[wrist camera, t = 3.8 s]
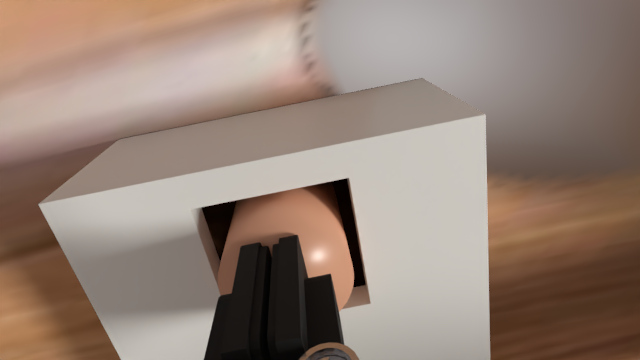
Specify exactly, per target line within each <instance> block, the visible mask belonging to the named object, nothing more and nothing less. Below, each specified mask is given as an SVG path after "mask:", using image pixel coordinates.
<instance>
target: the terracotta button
mask: <svg viewBox="0 0 640 360" xmlns="http://www.w3.org/2000/svg"><path fill="white" fill-rule="evenodd" d="M293 235H298V237H299V241H300V246H301V250H302V254H303V258H304V262H305V266H306V270H307V274H308V278H311V277H316V276H321V275H326V274H331V277H332V281H333V286H334V290H335V295H336V300H337V305H338V310H339V312H340V311H341V309H342V308H343V307H344V306H345V304H346V303H347V301H348V299H349V297H350V295H351V292H352V289H353V284H354V270H353V265H352V261H351V257H350V252H349V248H348V244H347V240H346V236H345V231H344V227H343V223H342V219H341V215H340V211H339V206H338V202H337V198H336V194H335V190H334V188H333V185H332V183H331V182H326V183H321V184H316V185H311V186H306V187H301V188H296V189H291V190H286V191H281V192H276V193H271V194H266V195H261V196H256V197H251V198H246V199H241V200H237V202H236V206H235V209H234V213H233V217H232V221H231V225H230V228H229V232H228V236H227V240H226V243H225V247H224V251H223V255H222V258H221V262H220V266H219V271H218V288H219V292H220V295H226V294H231V293H232V288H233V283H234V278H235V273H236V268H237V262H238V257H239V252H240V247H241V246H243V245H248V244H253V243H258V242H260V243H261V245H262V247H263V246H268V247H269V250H270V253H271V257H272V248H273V244H278V243H279V238H283V237H288V236H293Z"/></svg>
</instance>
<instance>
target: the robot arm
mask: <svg viewBox="0 0 640 360" xmlns="http://www.w3.org/2000/svg"><path fill="white" fill-rule="evenodd" d="M204 360H359V358H358V356H357V355H356V353H355V352H354V351H353V350H352V349H351V348H349V347H348V346H346V345H344V338H343V332H342V326H341V321H340V315H339V310H338V305H337V300H336V295H335V290H334V286H333V281H332V277H331V274H326V275H321V276H316V277H311V278H308V274H307V270H306V266H305V262H304V258H303V254H302V250H301V246H300V241H299V237H298V235H293V236H288V237H283V238H279V243H278V244H273V248H272V257H271V253H270V250H269V247H268V246H263V247H262V245H261V243H260V242H258V243H253V244H248V245H243V246H241V247H240V252H239V257H238V262H237V268H236V273H235V278H234V283H233V288H232V293H231V294H226V295H221V296H220V297H219V298H218V301H217V306H216V310H215V314H214V318H213V323H212V327H211V331H210V335H209V340H208V344H207V348H206V352H205V357H204Z"/></svg>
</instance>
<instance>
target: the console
mask: <svg viewBox="0 0 640 360" xmlns="http://www.w3.org/2000/svg"><path fill="white" fill-rule="evenodd" d="M346 178H347V180H348V186H349V192H350V198H351V203H352V209H353V215H354V220H355V226H356V232H357V238H358V243H359V249H360V255H361V260H362V266H363V272H364V278H365V283H366V285H364V286H358V287H353V289H352V292H351V295H350V297H349V299H348V301H347V303H346V304H345V306H344V307H343V308H342V309H341V311H340V312H339V315H340V321H341V326H342V332H343V338H344V345H346V346H348V347H349V348H351V349H352V350H353V351H354V352H355V353H356V355H357V356H358V358H359V360H490V316H489V265H488V214H487V164H486V115H485V114H484V113H482V112H480V111H479V110H477V109H475V108H473V107H472V106H470V105H468V104H467V103H465V102H463V101H461V100H460V99H458V98H456V97H454V96H453V95H451V94H449V93H447V92H446V91H444V90H442V89H440V88H438V87H437V86H435V85H433V84H432V83H430V82H428V81H426V80H425V79H423V78H421V79H415V80H411V81H405V82H400V83H396V84H391V85H386V86H381V87H376V88H371V89H366V90H361V91H356V92H351V93H346V94H341V95H336V96H331V97H326V98H321V99H316V100H311V101H307V102H302V103H297V104H292V105H287V106H282V107H277V108H272V109H267V110H262V111H257V112H252V113H247V114H242V115H237V116H232V117H227V118H222V119H218V120H213V121H208V122H203V123H198V124H193V125H188V126H183V127H178V128H173V129H168V130H163V131H158V132H153V133H148V134H143V135H138V136H134V137H129V138H124V139H119V140H117V141H116V142H115V143H114V144H112V145H111V146H110V147H109V148H107V149H106V150H105V151H104V152H102V153H101V154H100V155H99V156H97V157H96V158H95V159H94V160H92V161H91V162H90V163H89V164H88V165H86V166H85V167H84V168H83V169H81V170H80V171H79V172H78V173H76V174H75V175H74V176H73V177H71V178H70V179H69V180H68V181H66V182H65V183H64V184H63V185H61V186H60V187H59V188H58V189H56V190H55V191H54V192H53V193H51V194H50V195H49V196H48V197H46V198H45V199H44V200H43V201H42V202H40V203H39V204H38V205H39V207H40V209H41V211H42V213H43V214H44V216H45V218H46V220H47V222H48V224H49V226H50V228H51V229H52V231H53V233H54V235H55V237H56V239H57V241H58V243H59V244H60V246H61V248H62V250H63V252H64V254H65V256H66V258H67V259H68V261H69V263H70V265H71V267H72V269H73V271H74V273H75V274H76V276H77V278H78V280H79V282H80V284H81V286H82V287H83V289H84V291H85V293H86V295H87V297H88V299H89V301H90V302H91V304H92V306H93V308H94V310H95V312H96V314H97V316H98V317H99V319H100V321H101V323H102V325H103V327H104V329H105V331H106V332H107V334H108V336H109V338H110V340H111V342H112V344H113V346H114V347H115V349H116V351H117V353H118V355H119V357H120V359H121V360H204V357H205V352H206V348H207V344H208V340H209V335H210V331H211V327H212V323H213V318H214V314H215V310H216V306H217V301H218V298H219V297H220V296H221V295H220V292H219V288H218V271H219V266H220V260H219V257H218V254H217V251H216V248H215V245H214V242H213V240H212V237H211V234H210V231H209V228H208V225H207V222H206V219H205V217H204V214H203V211H202V208H201V207H206V206H211V205H216V204H221V203H226V202H231V201H236V200H241V199H246V198H251V197H256V196H261V195H266V194H271V193H276V192H281V191H286V190H291V189H296V188H301V187H306V186H311V185H316V184H321V183H326V182H331V181H336V180H341V179H346Z"/></svg>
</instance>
